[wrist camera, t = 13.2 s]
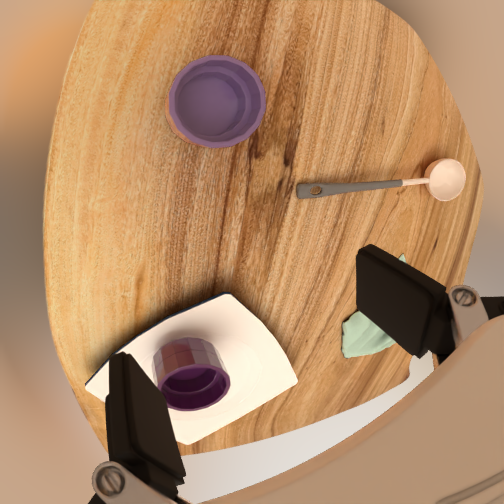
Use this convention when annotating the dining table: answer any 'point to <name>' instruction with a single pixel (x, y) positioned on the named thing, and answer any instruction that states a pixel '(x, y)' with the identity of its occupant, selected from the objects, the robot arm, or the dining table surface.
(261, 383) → the plate
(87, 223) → the dining table surface
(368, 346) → the cloth
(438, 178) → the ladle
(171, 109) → the lavender bowl
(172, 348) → the plum bowl
